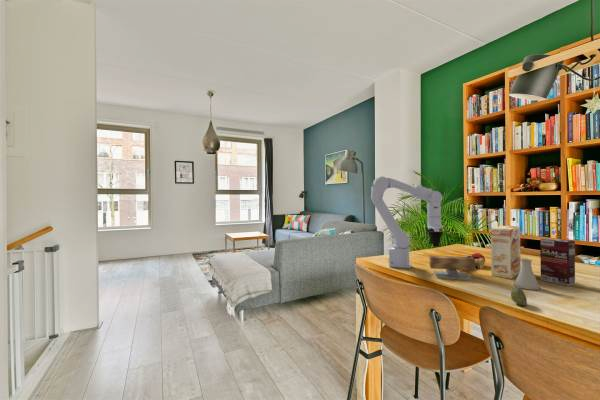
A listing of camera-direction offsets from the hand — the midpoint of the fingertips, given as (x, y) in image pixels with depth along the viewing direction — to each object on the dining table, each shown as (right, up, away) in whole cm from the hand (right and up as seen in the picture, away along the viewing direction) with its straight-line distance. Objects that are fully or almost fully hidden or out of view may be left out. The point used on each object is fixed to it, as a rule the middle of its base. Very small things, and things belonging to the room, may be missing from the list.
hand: (434, 245), depth 129 cm
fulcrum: (-1, -10, -16) cm, 19 cm away
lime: (+2, -10, -47) cm, 48 cm away
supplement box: (+32, -10, -27) cm, 43 cm away
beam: (-1, -7, -16) cm, 18 cm away
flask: (+17, -10, -32) cm, 37 cm away
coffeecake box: (+23, -10, -15) cm, 29 cm away
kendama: (+15, -10, -4) cm, 19 cm away
